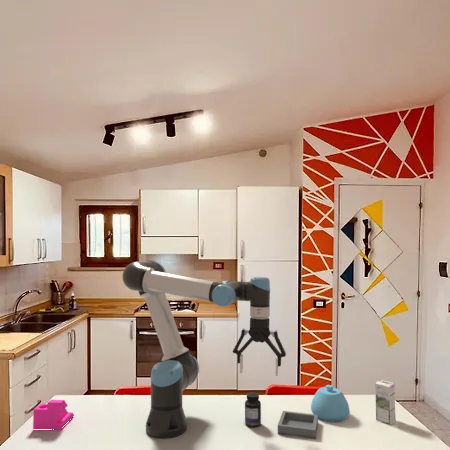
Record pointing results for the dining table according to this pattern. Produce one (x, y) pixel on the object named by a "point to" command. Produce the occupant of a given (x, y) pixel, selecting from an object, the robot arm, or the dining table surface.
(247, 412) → the pill bottle
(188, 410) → the dining table surface
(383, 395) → the syrup box
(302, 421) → the bin
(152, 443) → the dining table surface
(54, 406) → the bracket
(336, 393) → the sugar bowl
